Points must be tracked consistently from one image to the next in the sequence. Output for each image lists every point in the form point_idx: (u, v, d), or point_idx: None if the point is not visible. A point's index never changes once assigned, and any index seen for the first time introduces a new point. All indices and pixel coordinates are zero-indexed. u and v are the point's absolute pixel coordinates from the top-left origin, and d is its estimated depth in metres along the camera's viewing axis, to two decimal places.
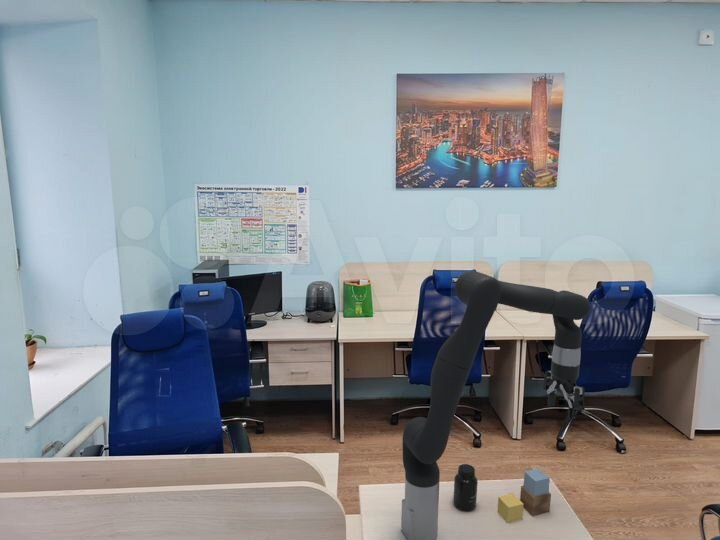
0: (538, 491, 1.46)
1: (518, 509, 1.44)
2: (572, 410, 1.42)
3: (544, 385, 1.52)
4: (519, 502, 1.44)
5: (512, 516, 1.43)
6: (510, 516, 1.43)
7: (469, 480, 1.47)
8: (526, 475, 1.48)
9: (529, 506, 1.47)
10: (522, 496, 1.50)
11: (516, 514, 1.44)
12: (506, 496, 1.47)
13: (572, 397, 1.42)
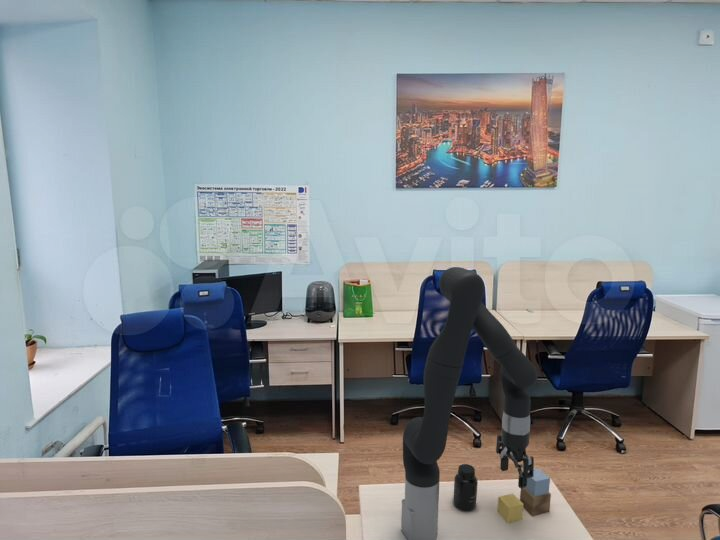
0: (538, 491, 1.45)
1: (518, 509, 1.44)
2: (522, 479, 1.39)
3: (497, 449, 1.49)
4: (519, 502, 1.44)
5: (512, 516, 1.43)
6: (510, 516, 1.43)
7: (469, 480, 1.47)
8: None
9: (528, 506, 1.47)
10: (522, 496, 1.50)
11: (516, 514, 1.44)
12: (506, 496, 1.47)
13: (522, 465, 1.39)
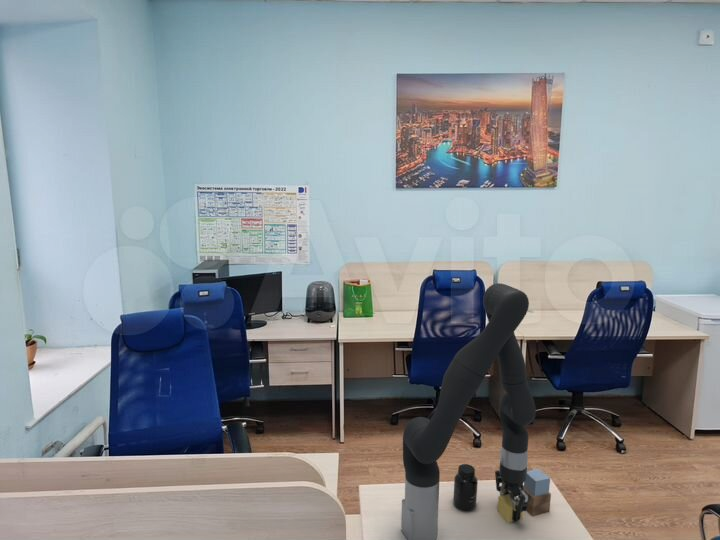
0: (538, 491, 1.45)
1: None
2: (516, 512, 1.42)
3: (497, 486, 1.49)
4: None
5: None
6: (510, 515, 1.43)
7: (469, 480, 1.47)
8: None
9: (528, 506, 1.47)
10: None
11: None
12: (506, 496, 1.47)
13: (517, 500, 1.42)
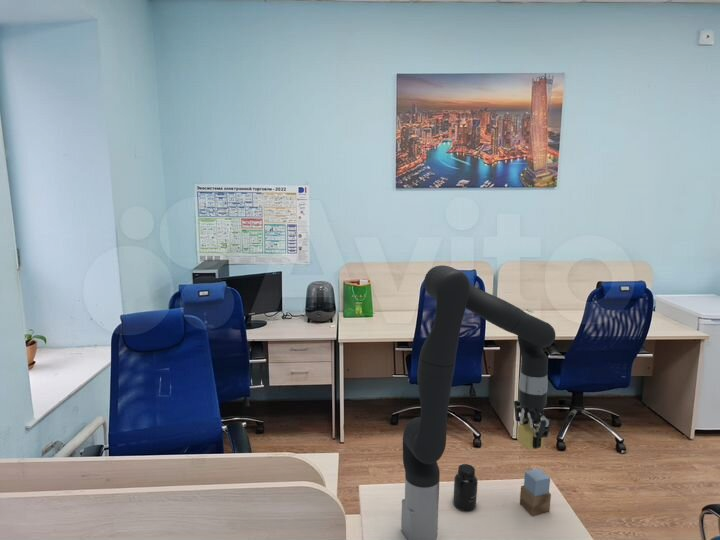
0: (538, 491, 1.46)
1: None
2: (536, 439, 1.40)
3: (516, 416, 1.47)
4: None
5: (532, 443, 1.41)
6: (531, 443, 1.41)
7: (469, 480, 1.47)
8: (526, 475, 1.48)
9: (528, 506, 1.47)
10: (522, 496, 1.50)
11: None
12: (526, 425, 1.45)
13: (538, 426, 1.40)
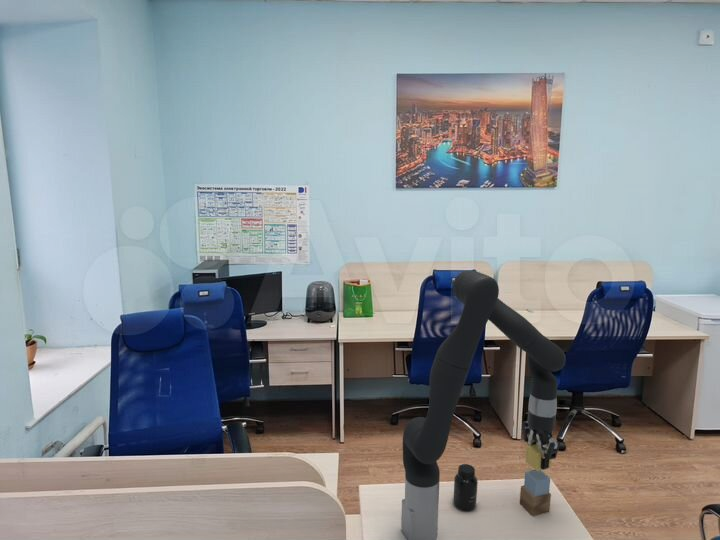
0: (539, 491, 1.45)
1: None
2: (544, 460, 1.43)
3: (524, 437, 1.50)
4: None
5: None
6: (539, 464, 1.44)
7: (469, 480, 1.47)
8: (527, 475, 1.48)
9: (528, 506, 1.47)
10: (522, 496, 1.50)
11: None
12: (534, 445, 1.48)
13: (546, 448, 1.43)
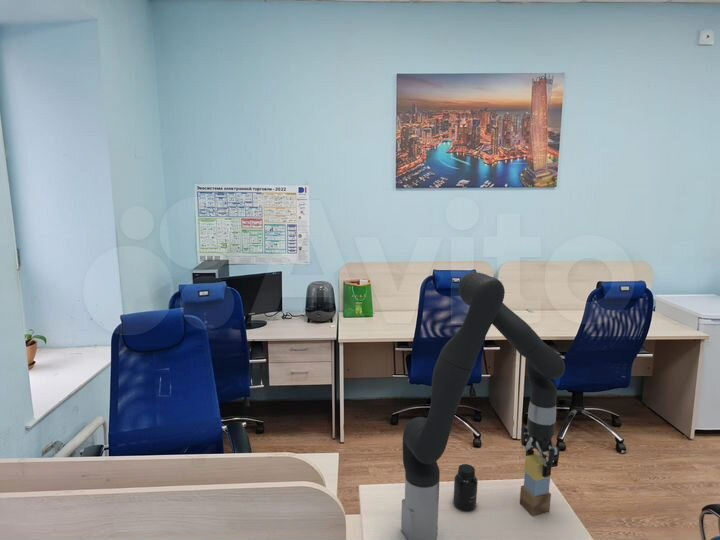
0: (538, 491, 1.46)
1: None
2: (546, 468, 1.42)
3: (522, 441, 1.51)
4: None
5: (540, 474, 1.45)
6: (538, 474, 1.44)
7: (469, 480, 1.47)
8: (526, 475, 1.48)
9: (528, 506, 1.47)
10: (522, 496, 1.50)
11: None
12: (533, 455, 1.48)
13: (547, 455, 1.42)
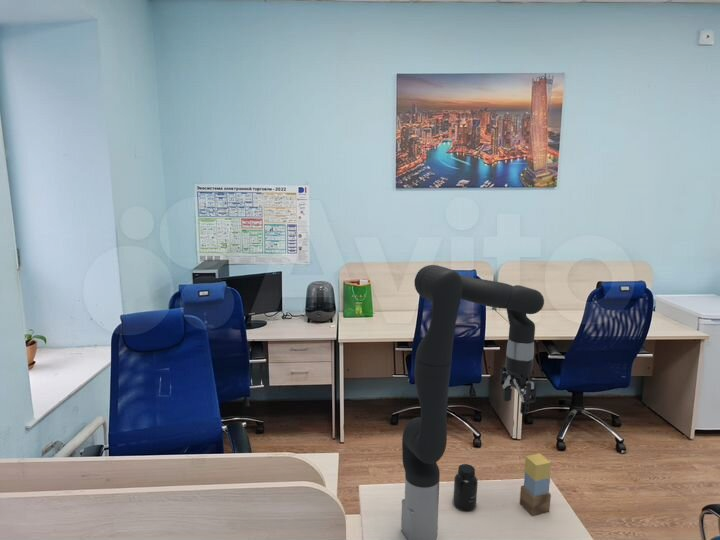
0: (538, 491, 1.46)
1: (545, 468, 1.45)
2: (524, 405, 1.42)
3: (500, 380, 1.52)
4: (546, 461, 1.46)
5: (539, 474, 1.45)
6: (538, 474, 1.44)
7: (469, 480, 1.47)
8: (526, 475, 1.48)
9: (528, 506, 1.47)
10: (522, 496, 1.50)
11: (543, 472, 1.45)
12: (533, 455, 1.48)
13: (525, 392, 1.43)
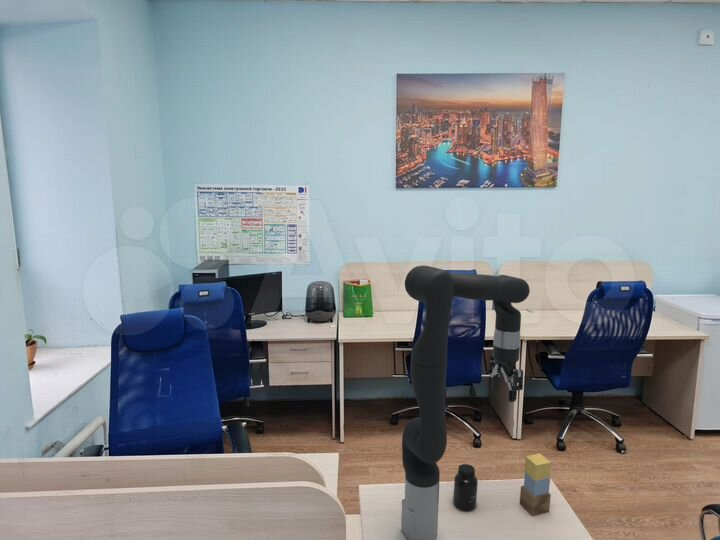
0: (538, 491, 1.46)
1: (545, 468, 1.45)
2: (512, 392, 1.44)
3: (488, 369, 1.54)
4: (546, 461, 1.46)
5: (539, 474, 1.45)
6: (538, 474, 1.44)
7: (469, 480, 1.47)
8: (526, 475, 1.48)
9: (528, 506, 1.47)
10: (522, 496, 1.50)
11: (544, 472, 1.45)
12: (533, 455, 1.48)
13: (512, 380, 1.44)
